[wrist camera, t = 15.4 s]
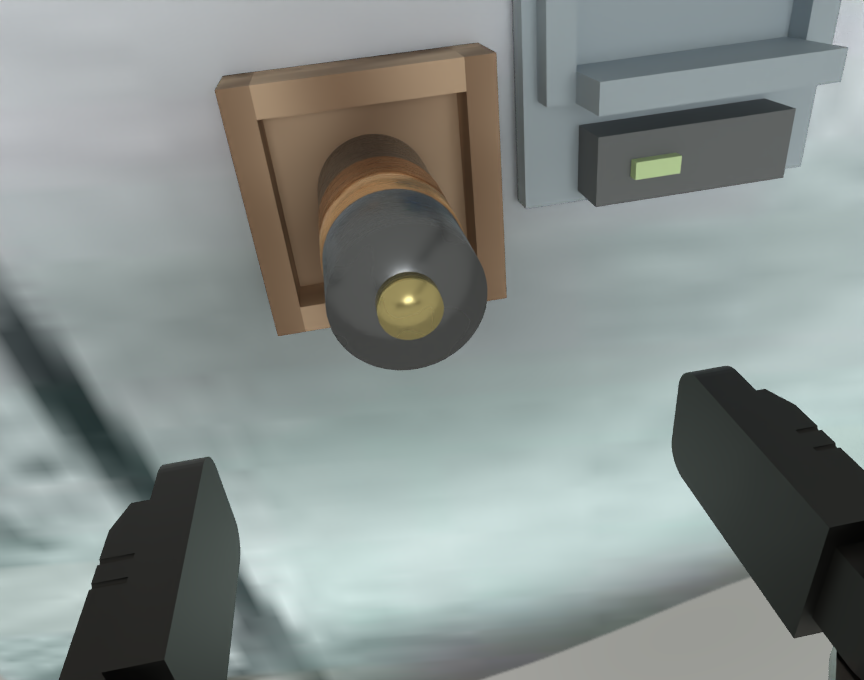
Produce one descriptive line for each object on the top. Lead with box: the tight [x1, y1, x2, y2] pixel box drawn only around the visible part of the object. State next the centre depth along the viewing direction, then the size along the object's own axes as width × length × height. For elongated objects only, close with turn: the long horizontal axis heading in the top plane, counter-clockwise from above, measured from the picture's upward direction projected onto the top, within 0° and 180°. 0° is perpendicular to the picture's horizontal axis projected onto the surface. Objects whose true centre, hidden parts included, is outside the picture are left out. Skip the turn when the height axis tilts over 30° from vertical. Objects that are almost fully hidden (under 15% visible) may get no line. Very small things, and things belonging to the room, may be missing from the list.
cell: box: [318, 134, 487, 370], centre depth 20 cm, size 4×4×9 cm
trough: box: [215, 43, 507, 336], centre depth 23 cm, size 8×8×2 cm
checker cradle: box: [513, 0, 848, 209], centre depth 21 cm, size 11×12×4 cm
